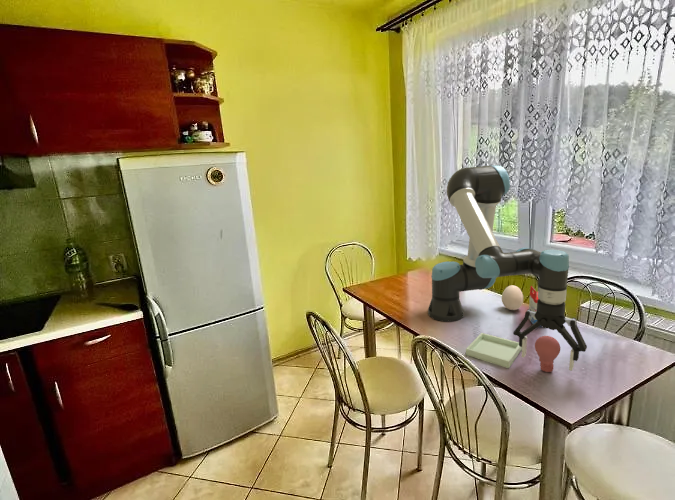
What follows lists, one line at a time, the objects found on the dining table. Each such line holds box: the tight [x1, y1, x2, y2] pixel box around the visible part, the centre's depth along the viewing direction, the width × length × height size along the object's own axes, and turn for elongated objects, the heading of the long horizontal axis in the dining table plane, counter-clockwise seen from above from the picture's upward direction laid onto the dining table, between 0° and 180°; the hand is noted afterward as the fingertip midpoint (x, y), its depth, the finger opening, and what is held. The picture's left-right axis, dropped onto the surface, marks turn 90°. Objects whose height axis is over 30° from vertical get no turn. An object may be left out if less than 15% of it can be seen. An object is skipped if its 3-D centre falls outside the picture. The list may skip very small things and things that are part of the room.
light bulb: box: [534, 335, 561, 373], centre depth 118 cm, size 7×7×12 cm
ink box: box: [528, 285, 538, 325], centre depth 150 cm, size 8×5×15 cm, turn 168°
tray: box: [465, 332, 522, 369], centre depth 132 cm, size 15×15×2 cm
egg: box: [501, 284, 524, 311], centre depth 163 cm, size 9×9×11 cm
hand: (546, 361), depth 119 cm, fingers open, 13 cm apart
